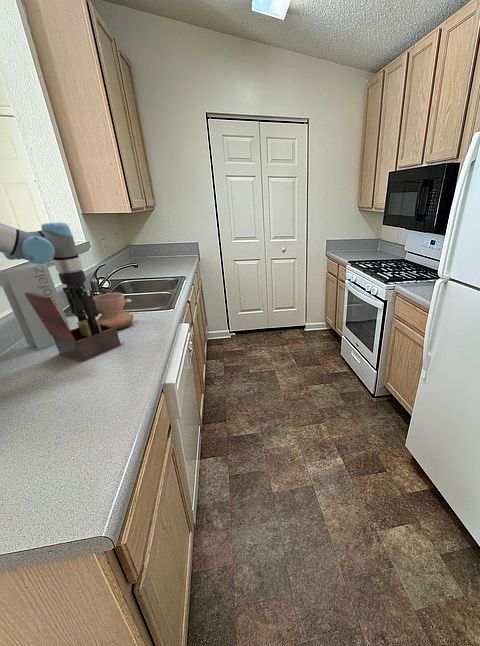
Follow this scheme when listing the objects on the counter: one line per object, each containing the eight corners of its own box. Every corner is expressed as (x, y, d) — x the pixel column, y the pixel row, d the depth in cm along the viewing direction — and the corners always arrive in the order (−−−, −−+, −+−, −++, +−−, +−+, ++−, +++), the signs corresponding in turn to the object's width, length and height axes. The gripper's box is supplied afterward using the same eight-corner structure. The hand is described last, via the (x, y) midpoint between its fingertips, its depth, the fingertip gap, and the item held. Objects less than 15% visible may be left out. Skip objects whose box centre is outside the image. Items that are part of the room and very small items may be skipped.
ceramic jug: (133, 318, 158) (125, 289, 151) (140, 327, 147) (132, 296, 141) (90, 327, 149) (80, 296, 142) (94, 337, 138) (83, 304, 132)
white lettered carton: (38, 351, 127) (5, 272, 113) (29, 349, 129) (-5, 271, 115) (73, 337, 139) (46, 264, 125) (63, 335, 141) (36, 263, 127)
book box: (99, 340, 135) (93, 322, 132) (121, 345, 130) (115, 327, 126) (60, 355, 123) (52, 336, 120) (82, 362, 117) (74, 342, 114)
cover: (26, 292, 110) (23, 293, 109) (49, 296, 104) (46, 298, 104) (53, 333, 120) (50, 335, 119) (75, 340, 114) (73, 341, 113)
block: (81, 335, 124) (77, 322, 122) (94, 330, 128) (90, 318, 126) (89, 337, 122) (85, 324, 120) (102, 332, 126) (98, 320, 124)
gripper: (97, 270, 114) (115, 333, 124) (66, 266, 121) (86, 326, 132) (75, 275, 108) (97, 341, 118) (44, 271, 115) (67, 332, 126)
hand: (91, 333), depth 125 cm, fingers closed on block, 5 cm apart
